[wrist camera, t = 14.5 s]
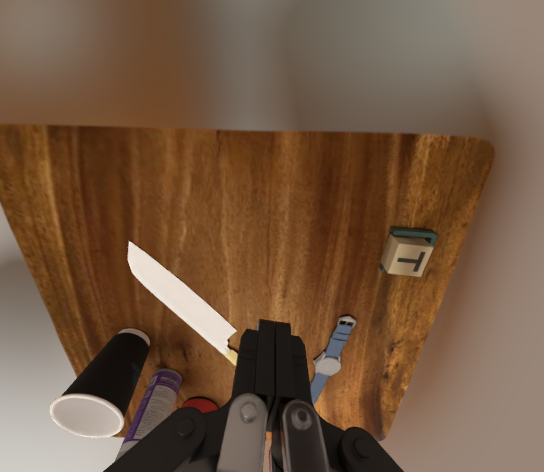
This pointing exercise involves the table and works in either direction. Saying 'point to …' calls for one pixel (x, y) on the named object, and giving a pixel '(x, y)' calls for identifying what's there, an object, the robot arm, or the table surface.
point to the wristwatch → (330, 357)
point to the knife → (182, 300)
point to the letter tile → (406, 255)
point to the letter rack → (416, 233)
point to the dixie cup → (103, 388)
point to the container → (153, 407)
